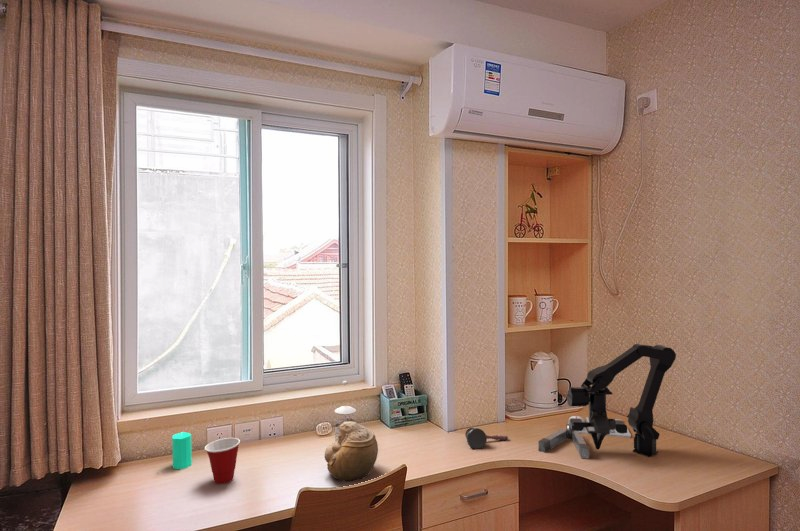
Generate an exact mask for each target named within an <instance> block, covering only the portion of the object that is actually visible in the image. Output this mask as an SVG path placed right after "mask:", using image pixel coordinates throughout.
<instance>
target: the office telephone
mask: <svg viewBox="0 0 800 531" xmlns="http://www.w3.org/2000/svg"><path fill="white" fill-rule="evenodd" d="M571 418H576V419H581V420H582V422H589V416H586V417H585V419H586V421H585V419H584V418H583V417H581V416H579V415H573V416H570V417H569V418H568V423H567V424H569V420H570V419H571ZM614 419H615V420H621V421H623V420H622V419H620V418H619V419H618V418H614ZM579 432H580V434H587V435H591V434H590V433H588V432H587V430H586V428H585V427H584V429H583V430H582V431H579ZM606 436H608V437H618V438H628V439H629V438H630V439H632V434H631V433H630V431H629V428H628V427H627V433H618V432H617V431H616V430H615V429H614V430H610V434H607V435H606ZM606 436H605V437H606Z"/></svg>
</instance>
